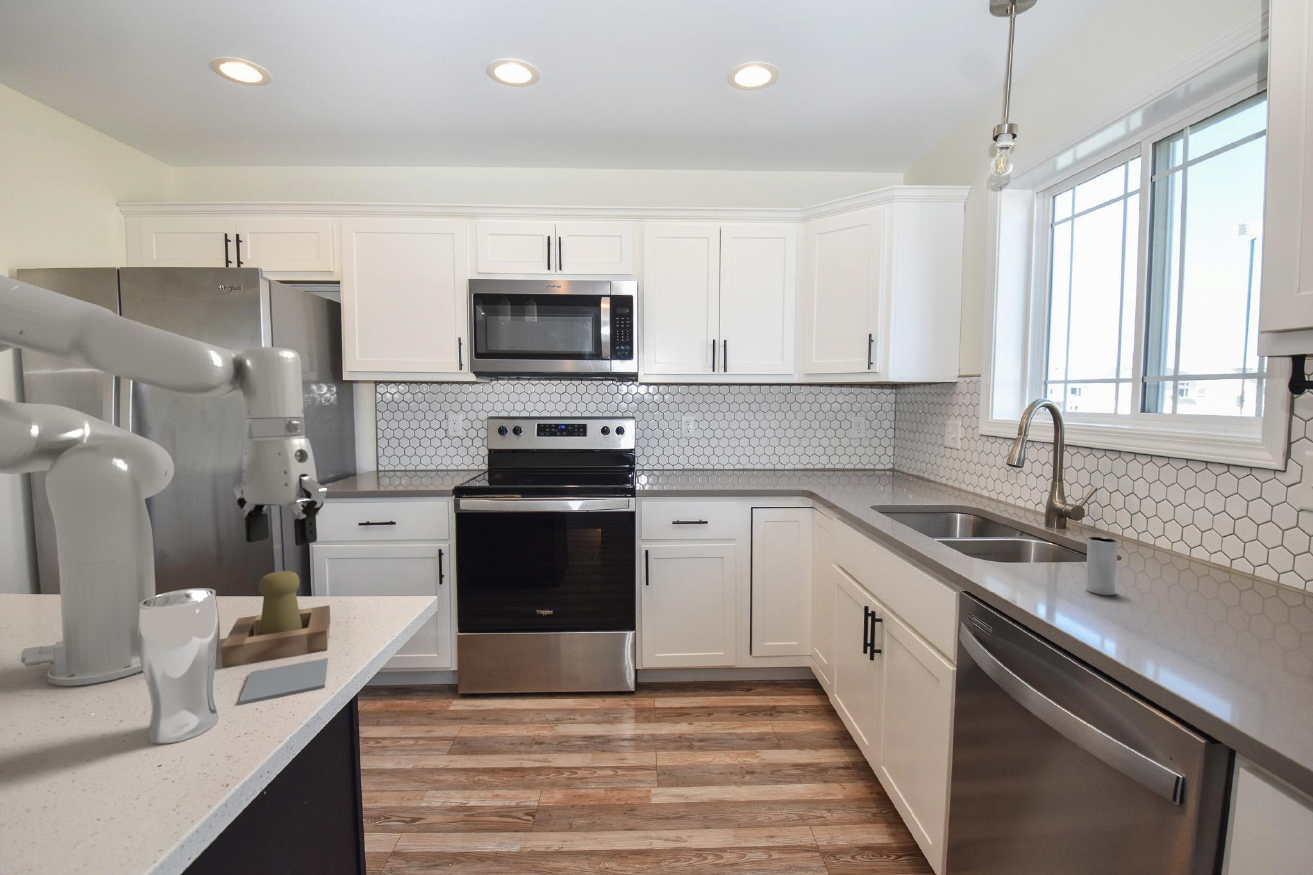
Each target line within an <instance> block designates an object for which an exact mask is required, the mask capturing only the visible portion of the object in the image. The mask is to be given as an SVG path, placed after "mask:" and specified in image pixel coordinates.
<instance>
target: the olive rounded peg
mask: <svg viewBox="0 0 1313 875" xmlns="http://www.w3.org/2000/svg"><path fill="white" fill-rule="evenodd" d="M299 587H300V578H299V575H298V574H297V572H295V571H290V570H281V571H275V572H271V573H267V574H266V575H264V576H262V578H261V579H260V580H259V584H258V590H259V594H260V595H261V596H262V597H263V603H262V611H261V615H262V617H261V626H260V635H266V634H272V633H279V632H285V631H292V630H298V629H302V623H301V618H300V613H299V610H300V609H299V603H298V598H297V593H296V592H297V591H298V589H299ZM260 635H259V636H260Z"/></svg>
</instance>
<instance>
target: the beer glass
mask: <svg viewBox="0 0 1313 875" xmlns="http://www.w3.org/2000/svg"><path fill="white" fill-rule="evenodd" d="M216 593H217V591H216V590H215V589H213V588H205V587H203V588H202V587H200V588H199V587H198V588H197V587H196V588H186V589H185V588H184V589H179V590H173V591H168V592H163V593H160V594H156V595H155V596H152V597H149V598H147V599H145V600H143V601H141V602H140V603H139V621H138V648H139V656H140V661H141V666H142V669H143V671H142V673H143V676H144V680H145V683H146V686H147V689H148V693H149V697H150V702H151V703H150V704H151V712H150V714H151V715H150V721H149V722H150V723H149V727H148V732H147V740H148V742H150V743H152V744H155V745H156V744H157V745H168V744H174V743H179V742H180V743H181V742H183V741H186V740H190V739H193V738H195V737H198V736H199V735H200V736H201V735H202V734H204V733H206V732H207V731H210V730H211V729H212V728H213V727H214V726H215V725H216V724H217V723H218V721H219V714H218V713H219V712H218V710H217V706H216V703H215V699H214V677H215V671H216V666H217V661H218V660H217V659H218V654H219V647H220V646H219V645H220V637H221V635H220V634H221V633H220V632H221V631H220V628H221V627H220V626H221V625H220V615H219V608H218V601H217V594H216Z"/></svg>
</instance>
